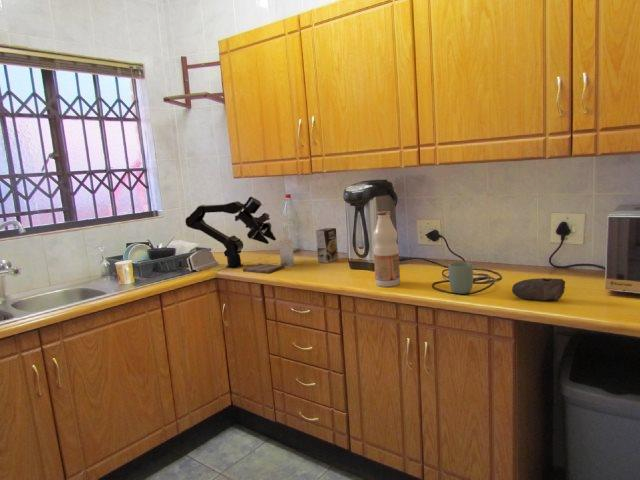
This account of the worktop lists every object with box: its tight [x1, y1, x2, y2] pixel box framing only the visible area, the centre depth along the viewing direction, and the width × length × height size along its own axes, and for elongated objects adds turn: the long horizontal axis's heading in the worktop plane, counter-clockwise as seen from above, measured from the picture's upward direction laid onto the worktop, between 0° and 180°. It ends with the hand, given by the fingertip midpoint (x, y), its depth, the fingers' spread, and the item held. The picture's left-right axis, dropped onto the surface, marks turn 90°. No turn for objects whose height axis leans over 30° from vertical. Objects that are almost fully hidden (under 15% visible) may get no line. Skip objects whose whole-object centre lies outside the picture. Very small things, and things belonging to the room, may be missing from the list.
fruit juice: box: [372, 210, 401, 288], centre depth 170 cm, size 9×9×28 cm
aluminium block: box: [278, 238, 295, 268], centre depth 220 cm, size 5×5×13 cm
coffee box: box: [315, 227, 339, 264], centre depth 223 cm, size 9×6×16 cm
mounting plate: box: [242, 263, 285, 275], centre depth 216 cm, size 16×12×1 cm
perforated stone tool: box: [511, 277, 566, 302], centre depth 140 cm, size 15×5×7 cm, turn 61°
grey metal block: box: [186, 250, 219, 272], centre depth 232 cm, size 17×5×10 cm, turn 152°
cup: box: [448, 261, 474, 295], centre depth 153 cm, size 8×8×10 cm
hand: (272, 241), depth 221 cm, fingers open, 9 cm apart
